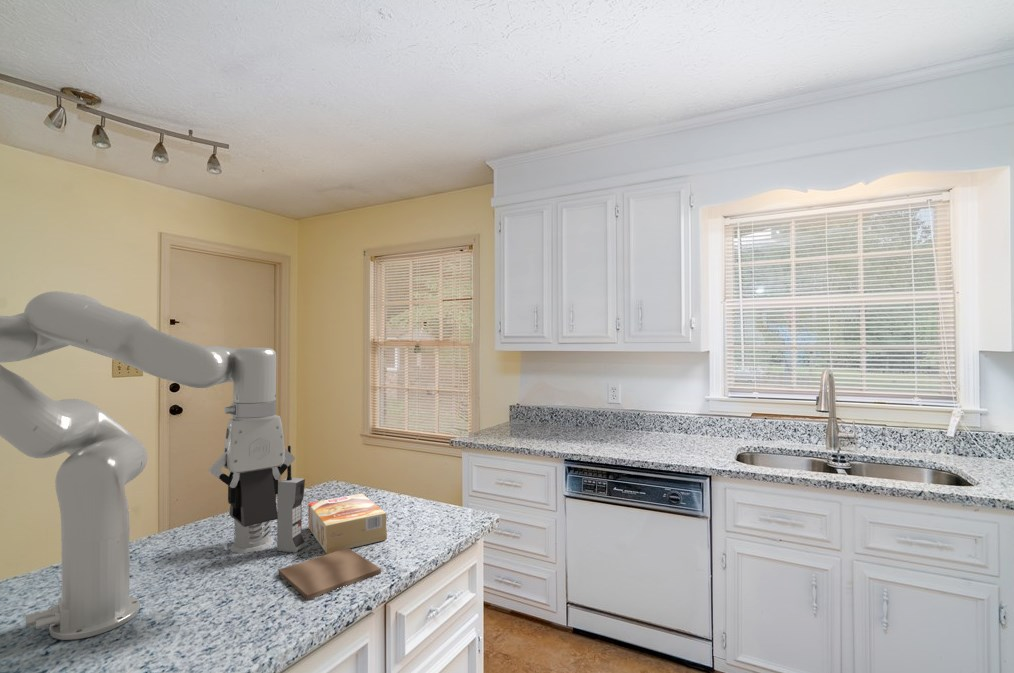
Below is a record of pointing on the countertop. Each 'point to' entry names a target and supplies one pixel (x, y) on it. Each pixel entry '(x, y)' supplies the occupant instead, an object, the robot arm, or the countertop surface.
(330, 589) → the walnut board
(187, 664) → the countertop surface
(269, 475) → the phone stand
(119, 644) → the countertop surface
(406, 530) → the countertop surface
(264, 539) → the french press
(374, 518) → the coffeecake box
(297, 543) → the vintage mobile phone
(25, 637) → the countertop surface
